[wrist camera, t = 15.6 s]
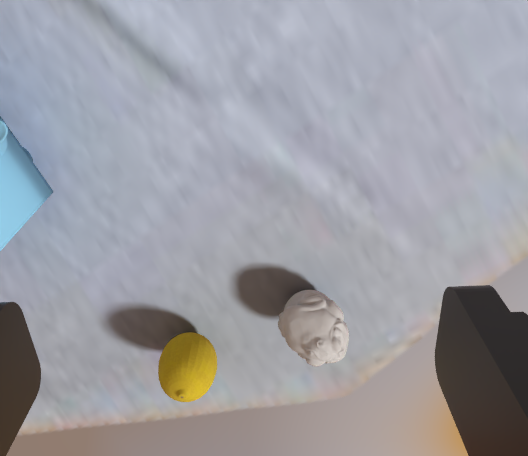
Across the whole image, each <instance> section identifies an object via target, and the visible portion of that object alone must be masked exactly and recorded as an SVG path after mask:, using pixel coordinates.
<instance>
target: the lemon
mask: <svg viewBox="0 0 528 456" xmlns="http://www.w3.org/2000/svg"><path fill="white" fill-rule="evenodd" d="M216 370H217V356H216V352H215V350H214V347H213V345H212V344H211V343H210V341H209V340H208V339H207V338H205V337H204V336H202V335H200V334H197V333H191V332H188V333H182V334H180V335H177V336H176V337H174V338H173V339H171V340H170V341H169V342H168V344H167V345H166V346H165V348H164V349H163V352H162V354H161V357H160V360H159V370H158V374H159V381H160V384H161V387H162V389H163V390H164V392H165V393H166V394H167V395H168V396H169V397H170V398H172V399H174V400H177V401H180V402H190V401H194V400H196V399H199V398H200V397H202V396H203V395H204V394H205V393H206V392H207V391H208V389H209V388H210V387H211V385H212V383H213V380H214V377H215V374H216Z"/></svg>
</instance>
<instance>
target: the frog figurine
mask: <svg viewBox="0 0 528 456" xmlns="http://www.w3.org/2000/svg"><path fill="white" fill-rule="evenodd" d="M343 320H344V315H343V312H342V310H341V309H340V307H338V306H337V305H336V303H335V302H334V301H332V300H330V299H329V298H328V297H327V296H326V295H324V294H323V293H321V292H319V291H316V290H303V291H300V292H298V293H296V294H294V295H293V296H292V297H291V298H290V299H289V300H288V302H287V303H286V305H285V308H284V311H283V312H282V313H280V314H279V321H278V328H279V330H280V331H281V334H282V336H283V337H284V338H285V339H286V342H287V344H288V345H289V347H290V348H291V349H292V350H293V351H295V352H297V353H298V355H299V356H300V357H302V358H304V359H306V361H307V363H308V364H310V365H312V366H315V367H318V366H320V365H322V364H323V363H336V362H338V361H340V360H341V359H342V358H343V357H344V356H345V354H346V351H347V348H348V342H349V331H348V328H347V325H346V323H344V322H343Z"/></svg>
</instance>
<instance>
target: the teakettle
mask: <svg viewBox="0 0 528 456" xmlns="http://www.w3.org/2000/svg"><path fill="white" fill-rule="evenodd" d="M52 193H53V190H52V189H51V187H50V186H49V185H48V183H47V182H46V180H45V179H44V177H43V176H42V175H41V173H40V172H39V170H38V169H37V168H36V166H35V165H34V163H33V159H32V157H31V155H30V153H29V152H28V151H27V150H26V149H25V148H23V147H22V146H21V145H20V143H19V142H18V141H17V139H16V138H15V136H14V135H13V134H12V132H11V131H10V129H9V128H8V126H7V125H6V124H5V122H4V121H3V119H2V118H1V117H0V251H1V250H2V249H3V248H4V246H5V245H6V244H7V243H8V242H9V241H10V240H11V239H12V237H13V236H14V235H15V234H16V233H17V232H18V231H19V230H20V229H21V227H22V226H23V225H24V224H25V223H26V222H27V221H28V220H29V219H30V217H31V216H32V215H33V214H34V213H35V212H36V211H37V210H38V208H39V207H40V206H41V205H42V204H43V203H44V202H45V201H46V200H47V198H48V197H49V196H50V195H51V194H52Z"/></svg>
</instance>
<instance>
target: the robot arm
mask: <svg viewBox="0 0 528 456" xmlns="http://www.w3.org/2000/svg"><path fill="white" fill-rule="evenodd" d="M435 366H436V373H437V377H438V381H439V384H440V386H441V389H442V392H443V394H444V397H445V399H446V401H447V404H448V406H449V409H450V411H451V414H452V416H453V418H454V421H455V424H456V426H457V428H458V431H459V433H460V435H461V438H462V440H463V443H464V445H465V448H466V450H467V453H468V455H469V456H528V315H527V314H526V313H524V312H510V311H509V309H508V308H507V306H506V305H505V303H504V302H503V301H502V299H501V298H500V296H499V295H498V293H497V292H496V290H495V289H494V288H493V287H492V286H490V285H485V286H458V287H447V288H446V290H445V292H444V295H443V301H442V307H441V314H440V321H439V328H438V335H437V342H436V349H435ZM40 381H41V368H40V363H39V360H38V357H37V354H36V351H35V348H34V345H33V342H32V339H31V336H30V333H29V330H28V327H27V324H26V321H25V318H24V315H23V312H22V310H21V308H20V306H19V305H18V304H16V303H14V302H2V303H0V456H6V454H7V453H8V451H9V449H10V447H11V445H12V443H13V441H14V439H15V437H16V435H17V433H18V431H19V429H20V428H21V426H22V424H23V422H24V420H25V418H26V416H27V414H28V412H29V410H30V408H31V406H32V404H33V402H34V400H35V399H36V396H37V394H38V391H39V387H40Z"/></svg>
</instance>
